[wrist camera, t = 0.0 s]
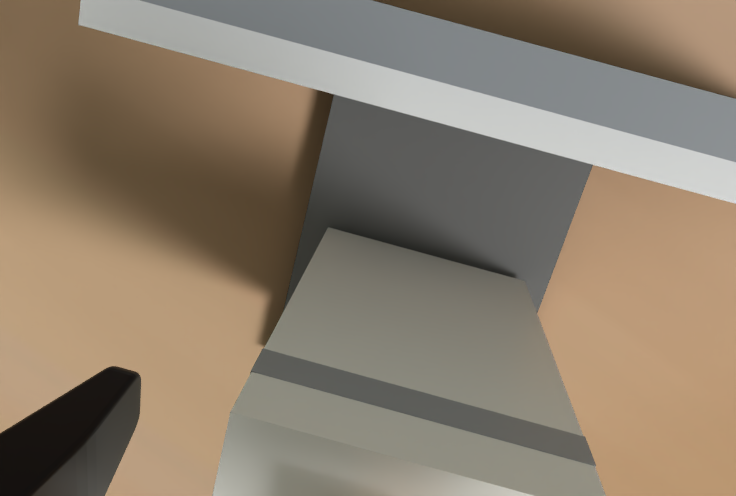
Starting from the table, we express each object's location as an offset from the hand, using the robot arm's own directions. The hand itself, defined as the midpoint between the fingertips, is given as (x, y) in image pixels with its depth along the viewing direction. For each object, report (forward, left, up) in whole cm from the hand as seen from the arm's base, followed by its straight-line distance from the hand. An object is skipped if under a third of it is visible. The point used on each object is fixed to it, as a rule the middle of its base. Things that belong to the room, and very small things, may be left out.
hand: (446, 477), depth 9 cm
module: (-3, -2, -14) cm, 15 cm away
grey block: (-1, -1, -15) cm, 15 cm away
